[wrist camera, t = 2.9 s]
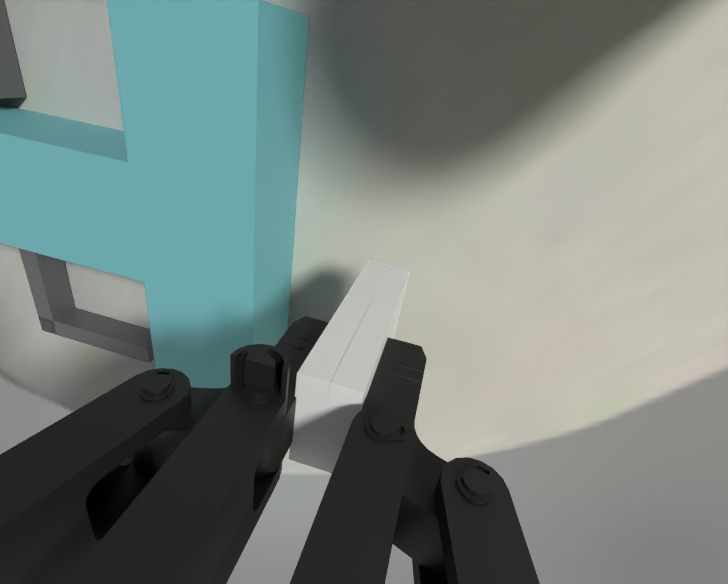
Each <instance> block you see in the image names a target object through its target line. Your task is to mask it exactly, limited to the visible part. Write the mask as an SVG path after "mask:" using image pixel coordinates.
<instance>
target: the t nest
mask: <svg viewBox="0 0 728 584" xmlns="http://www.w3.org/2000/svg"><path fill="white" fill-rule="evenodd" d="M23 97H26V94H25V90H24V86H23V81H22V77H21V73H20V68H19V64H18V60H17V56H16V51H15V47H14V43H13V38H12V34H11V30H10V25H9V21H8V17H7V13H6V8H5V4H4V0H0V99H2V98H23ZM19 250H20V254H21V257H22V261H23V264H24V268H25V271H26V275H27V278H28V281H29V285H30V288H31V292H32V295H33V299H34V302H35V306H36V309H37V313H38V316H39V320H40V323H41V327H42V330H43V331H46V332H50V333H53V334H56V335H60V336H63V337H66V338H69V339H73V340H76V341H79V342H83V343H86V344H89V345H93V346H96V347H99V348H102V349H106V350H109V351H112V352H116V353H119V354H122V355H126V356H129V357H132V358H136V359H139V360H142V361H145V362H151V361H152V360H153V359H154V355H153V347H152V339H151V332H150V330H149V329H146V328H142V327H139V326H135V325H132V324H129V323H125V322H122V321H118V320H115V319H111V318H108V317H104V316H101V315H98V314H94V313H91V312H87V311H84V310H80V309H77V308H75V305H74V301H73V296H72V292H71V288H70V283H69V279H68V275H67V270H66V266H65V262H64V260H60V259H57V258H53V257H49V256H46V255H42V254H38V253H35V252H31V251H27V250H24V249H20V248H19Z"/></svg>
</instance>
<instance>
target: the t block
mask: <svg viewBox="0 0 728 584" xmlns="http://www.w3.org/2000/svg"><path fill="white" fill-rule="evenodd" d="M107 5H108V13H109V20H110V28H111V35H112V43H113V51H114V58H115V66H116V73H117V81H118V89H119V96H120V104H121V111H122V119H123V127H124V131H121V130H116V129H111V128H107V127H102V126H98V125H93V124H88V123H84V122H79V121H74V120H70V119H65V118H60V117H56V116H51V115H46V114H42V113H37V112H32V111H28V110H23V109H18V108H14V107H9V106H4V105H0V243H2V244H5V245H9V246H13V247H16V248H20V249H24V250H27V251H31V252H35V253H38V254H42V255H46V256H49V257H53V258H57V259H60V260H64V261H68V262H72V263H75V264H79V265H83V266H86V267H90V268H94V269H97V270H101V271H105V272H108V273H112V274H116V275H119V276H123V277H127V278H130V279H134V280H138V281H141V282H144V286H145V294H146V301H147V309H148V317H149V324H150V332H151V339H152V347H153V355H154V362H155V369H158V368H168V369H175V370H178V371H181V372H183V373H184V374H185V375H186V376H187V377H188V378H189V381H190V385H191V387H195V388H226V387H228V386H229V385H230V384H231V378H230V354H231V353H233V352H234V351H236V350H237V349H238V348H241V347H244V346H247V345H252V344H266V345H272V346H275V345H276V344H278V341H279V340H280V339H281V337H282V336H283V335H284V334H285V332H286V331H287V330H288V318H289V303H290V289H291V274H292V259H293V245H294V230H295V215H296V200H297V186H298V171H299V156H300V142H301V127H302V112H303V98H304V83H305V68H306V54H307V39H308V24H309V16H306V15H303V14H300V13H297V12H295V11H292V10H289V9H286V8H283V7H280V6H277V5H274V4H271V3H268V2H266V1H263V0H107Z"/></svg>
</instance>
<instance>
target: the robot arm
mask: <svg viewBox="0 0 728 584" xmlns="http://www.w3.org/2000/svg"><path fill="white" fill-rule="evenodd" d="M409 273H410V270H407V269H403V268H399V267H395V266H391V265H387V264H382V263H378V262H374V261H370V260H368V262H367V263H366V265H365V266H364V268H363V270H362V271H361V273H360V274H359V276H358V277H357V279H356V281H355V282H354V284H353V285H352V287H351V289H350V290H349V292H348V293H347V295H346V296H345V298H344V300H343V301H342V303H341V304H340V306H339V307H338V309H337V311H336V312H335V314H334V315H333V317H332V319H331V320H330V322H329V323H328V322H324V321H321V320H317V319H313V318H310V317H304V318H302V319H300V320H298V321H296V322H294V323H292V325H291V326H290V327H289V328H288V330H287V331H286V332H285V334H284V335H283V336H282V337H281V339H280V340H279V341H278V344H276V345H275V346H272V345H266V344H252V345H247V346H244V347H241V348H238V349H237V350H236V351H234V352H233V353H231V354H230V378H231V384H230V385H229V386H228V387H226V388H195V387H191V385H190V381H189V378H188V377H187V376H186V375H185V374H184V373H183V372H181V371H178V370H175V369H168V368H158V369H153V370H148V371H145V372H143V373H141V374H138V375H136V376H134V377H133V378H131V379H129V380H127V381H126V382H124V383H122V384H121V385H119V386H117V387H115V388H114V389H112V390H110V391H109V392H107V393H105V394H103V395H102V396H100V397H98V398H97V399H95V400H93V401H91V402H90V403H88V404H86V405H85V406H83V407H81V408H79V409H78V410H76V411H74V412H73V413H71V414H69V415H67V416H66V417H64V418H62V419H61V420H59V421H57V422H55V423H54V424H52V425H50V426H49V427H47V428H45V429H43V430H42V431H40V432H38V433H37V434H35V435H33V436H31V437H30V438H28V439H26V440H25V441H23V442H21V443H19V444H18V445H16V446H14V447H13V448H11V449H9V450H7V451H6V452H4V453H2V454H1V455H0V584H226V583H227V581H228V579H229V577H230V575H231V573H232V571H233V569H234V567H235V565H236V563H237V561H238V559H239V558H240V556H241V553H242V552H243V550H244V547H245V545H246V544H247V542H248V540H249V537H250V536H251V533H252V532H253V530H254V528H255V526H256V524H257V522H258V520H259V518H260V515H261V514H262V512H263V510H264V508H265V506H266V504H267V502H268V500H269V498H270V496H271V494H272V492H273V490H274V488H275V486H276V484H277V482H278V480H279V478H280V474H281V470H282V460H283V458H284V457H285V455H286V453H287V451H288V449H289V447H290V453H289V459H290V460H293V461H296V462H299V463H302V464H305V465H309V466H312V467H315V468H318V469H321V470H324V471H327V472H330V473H332V475H331V477H330V480H329V483H328V485H327V488H326V491H325V493H324V496H323V499H322V501H321V504H320V506H319V509H318V512H317V514H316V517H315V519H314V522H313V524H312V527H311V530H310V532H309V535H308V538H307V540H306V543H305V545H304V548H303V551H302V553H301V556H300V558H299V561H298V564H297V566H296V569H295V572H294V574H293V577H292V579H291V582H290V584H385V579H386V574H387V569H388V564H389V559H390V554H391V548H392V544H394V545H395V546H397V547H398V548H399V549H400V550H402V551H403V552H404V553H406V554H407V555H408V556H410V557H411V558H412V562H413V575H414V584H540V583H539V580H538V577H537V574H536V571H535V568H534V565H533V562H532V559H531V556H530V553H529V550H528V547H527V544H526V541H525V538H524V535H523V532H522V529H521V526H520V523H519V520H518V517H517V514H516V511H515V508H514V504H513V502H512V498H511V495H510V492H509V490H508V488H507V486H506V484H505V482H504V480H503V478H502V477H501V476H500V475H499V474H498V473H497V472H496V471H495V470H494V469H493V468H491V467H490V466H488V465H486V464H485V463H483V462H481V461H479V460H475V459H472V458H468V457H467V458H455V459H454V460H452V461H450V462H446V461H444V460H443V459H441V458H440V457H438V456H436V455H435V454H433V453H432V452H431V451H429V450H428V449H427V448H426V447H425V446H424V445H423V444H422V443H421V441H420V440H419V438H418V436H417V435H416V431H415V428H414V420H415V415H416V410H417V405H418V400H419V395H420V390H421V384H422V379H423V374H424V369H425V364H426V356H425V354H424V352H423V349H422V347H421V346H418V345H414V344H411V343H407V342H403V341H399V340H396V339H394V337H395V334H396V330H397V325H398V321H399V317H400V312H401V308H402V303H403V299H404V295H405V290H406V286H407V281H408V277H409Z"/></svg>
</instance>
